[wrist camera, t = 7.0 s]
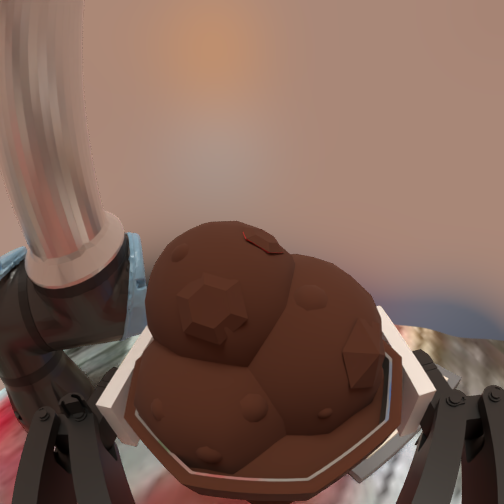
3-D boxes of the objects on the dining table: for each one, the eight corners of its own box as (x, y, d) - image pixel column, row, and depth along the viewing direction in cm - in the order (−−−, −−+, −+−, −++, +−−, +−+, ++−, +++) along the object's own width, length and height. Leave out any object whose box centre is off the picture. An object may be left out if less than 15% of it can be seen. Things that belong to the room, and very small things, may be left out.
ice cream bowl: (198, 556, 6) (-28, 349, 2) (184, 423, 17) (123, 219, 13) (388, 507, 8) (522, 248, 4) (320, 395, 19) (325, 194, 14)
